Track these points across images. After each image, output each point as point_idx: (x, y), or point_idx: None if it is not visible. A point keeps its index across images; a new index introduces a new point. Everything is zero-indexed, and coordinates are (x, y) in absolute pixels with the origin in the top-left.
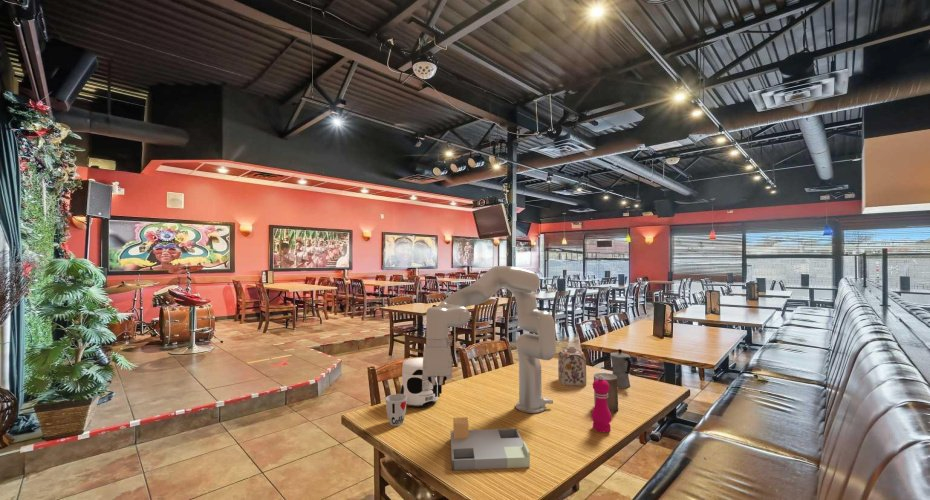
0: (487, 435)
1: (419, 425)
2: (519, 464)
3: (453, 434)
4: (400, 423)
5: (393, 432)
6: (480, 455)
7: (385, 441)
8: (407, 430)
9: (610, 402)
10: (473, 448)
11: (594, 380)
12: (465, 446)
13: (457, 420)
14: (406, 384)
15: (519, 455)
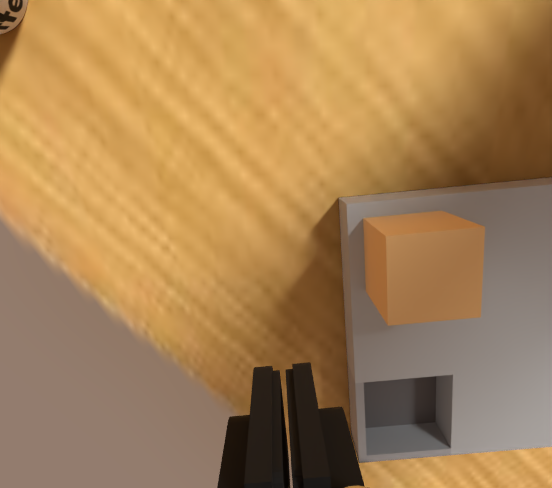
0: (543, 255)
1: (141, 22)
2: None
3: (363, 247)
4: (16, 18)
5: (18, 123)
6: (477, 427)
7: (17, 225)
8: (89, 96)
9: None
10: (454, 377)
11: None
12: (419, 362)
13: (413, 278)
14: None
15: None
